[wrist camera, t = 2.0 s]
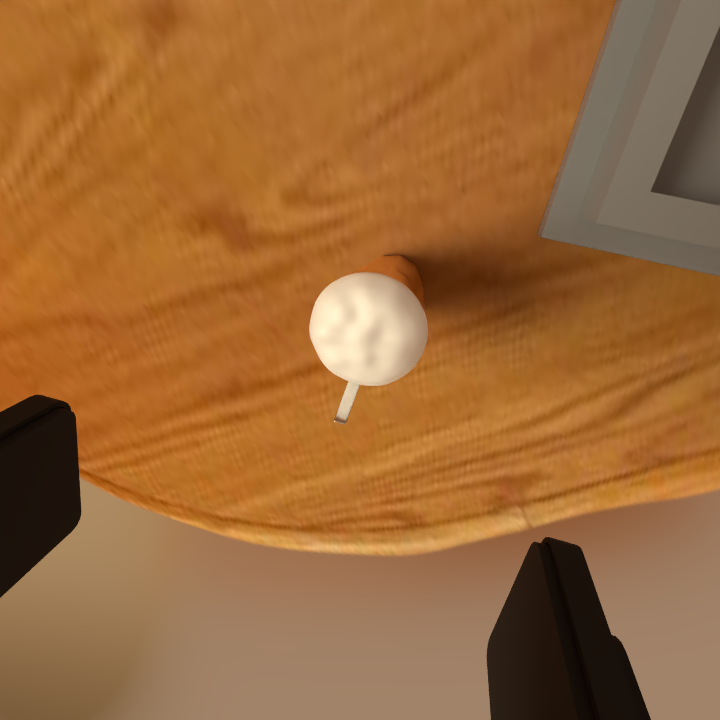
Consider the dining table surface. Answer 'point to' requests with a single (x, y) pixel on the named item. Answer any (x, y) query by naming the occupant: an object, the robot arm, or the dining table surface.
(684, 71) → the socket
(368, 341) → the milkshake
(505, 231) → the dining table surface
